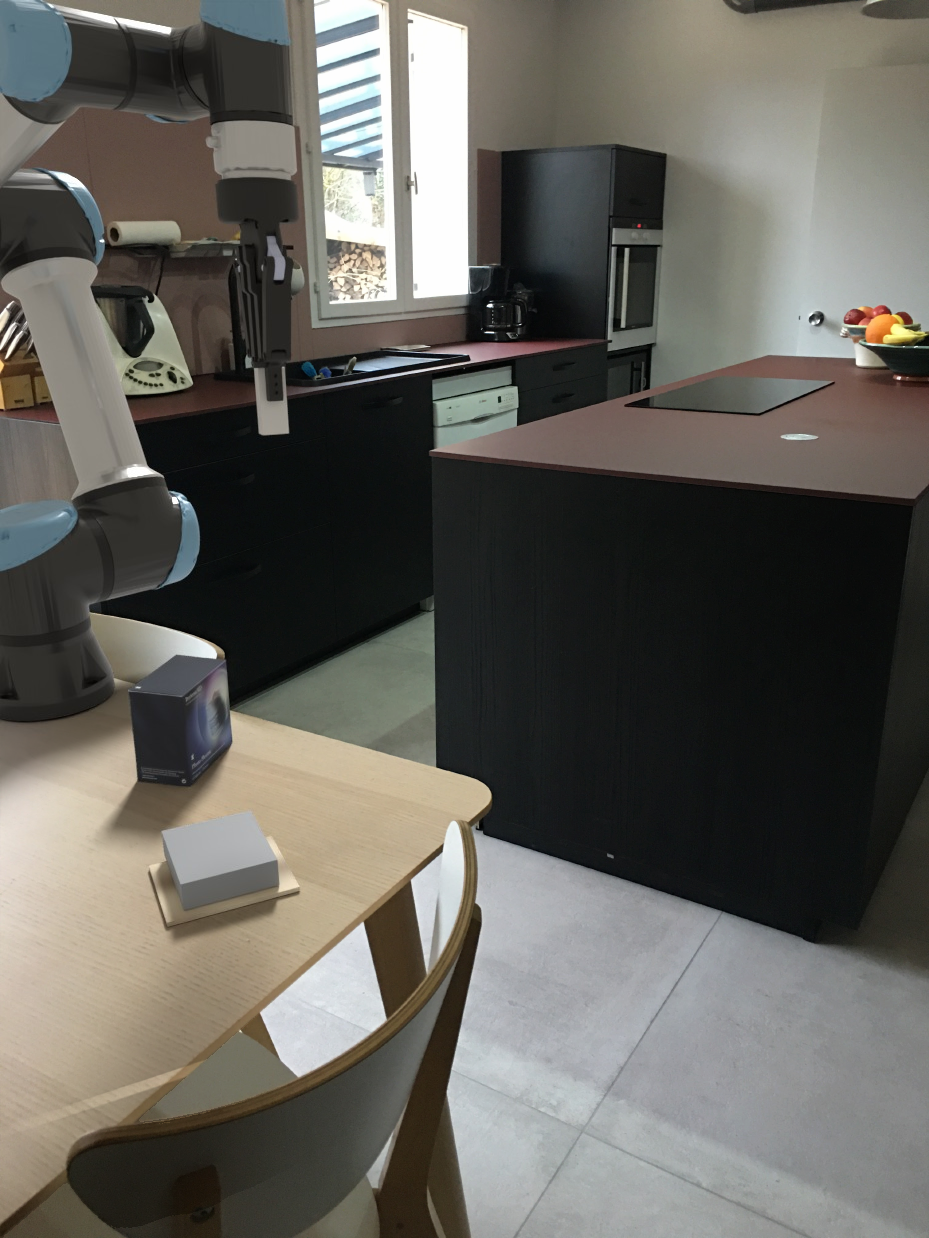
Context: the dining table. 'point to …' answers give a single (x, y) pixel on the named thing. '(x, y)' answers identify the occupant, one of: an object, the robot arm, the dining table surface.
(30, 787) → the dining table surface
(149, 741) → the small box
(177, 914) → the cork mat
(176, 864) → the grey square slab
